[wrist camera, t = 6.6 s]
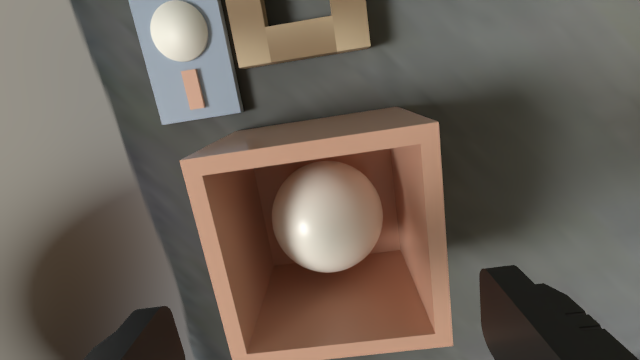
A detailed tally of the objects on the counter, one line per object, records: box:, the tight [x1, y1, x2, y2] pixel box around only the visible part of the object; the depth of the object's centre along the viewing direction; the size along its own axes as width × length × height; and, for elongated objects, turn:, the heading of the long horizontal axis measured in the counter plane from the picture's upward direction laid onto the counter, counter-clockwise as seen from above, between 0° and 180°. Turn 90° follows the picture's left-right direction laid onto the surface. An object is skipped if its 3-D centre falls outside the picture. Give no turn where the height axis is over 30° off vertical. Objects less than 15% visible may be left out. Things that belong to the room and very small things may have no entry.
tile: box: [129, 0, 244, 125], centre depth 17 cm, size 6×4×1 cm, turn 9°
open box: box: [179, 107, 453, 360], centre depth 15 cm, size 8×8×7 cm
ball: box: [272, 161, 383, 273], centre depth 16 cm, size 5×5×5 cm
